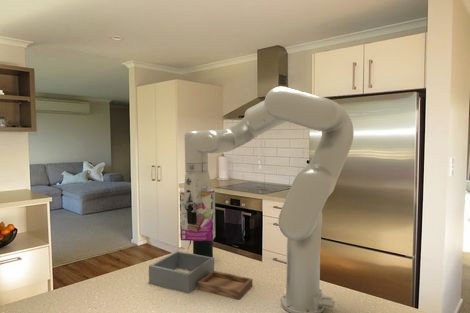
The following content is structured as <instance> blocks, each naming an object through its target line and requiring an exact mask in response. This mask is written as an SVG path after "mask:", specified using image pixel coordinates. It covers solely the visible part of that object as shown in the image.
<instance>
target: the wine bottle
mask: <svg viewBox="0 0 470 313" xmlns="http://www.w3.org/2000/svg"><path fill="white" fill-rule="evenodd" d="M191 245H192V254H197V255H202V256H207V257H212V258H214V252H213V251H214V250H213V249H214V247H213V246H214V240H213V241H189V245H188V247H187V250H186V251H188V249H189V248H190V246H191Z"/></svg>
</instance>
